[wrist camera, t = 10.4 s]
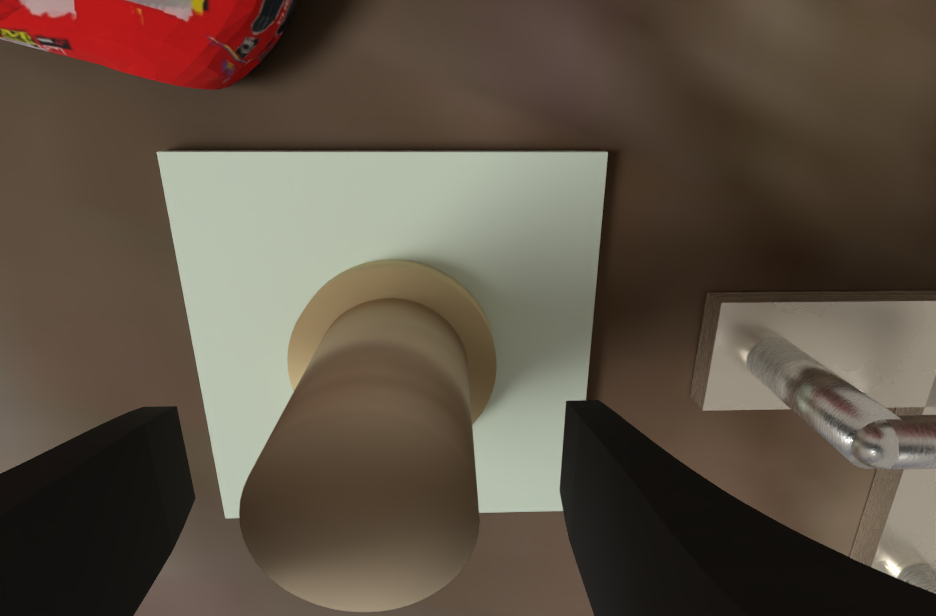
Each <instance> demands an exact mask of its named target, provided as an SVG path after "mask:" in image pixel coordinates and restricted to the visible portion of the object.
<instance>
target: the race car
mask: <svg viewBox="0 0 936 616" xmlns="http://www.w3.org/2000/svg"><path fill="white" fill-rule="evenodd" d="M296 2H297V0H0V39H2V40H6V41H10V42H14V43H17V44H21V45H25V46H29V47H32V48H36V49H40V50H44V51H48V52H52V53H56V54H60V55H64V56H68V57H72V58H76V59H80V60H84V61H88V62H92V63H95V64H99V65H103V66H106V67H108V68H111V69H114V70H117V71H121V72H124V73H128V74H132V75H135V76H139V77H143V78H147V79H151V80H155V81H159V82H163V83H168V84H172V85H177V86H182V87H189V88H198V89H211V90H216V89H222V88H225V87H228V86H231V85H232V84H234V83H235V82H237V81H238V80H240V79H241V78H243V77H244V76H246V75H247V74H248V73H249V72H250V71H251V70H252V69H253V68H255V67H256V66H257V65H258V64H259V63H260V62H261V61H262V60H263V59H264V58H265V56H266V55H267V54H268V53H269V52H270V51H271V50H272V49H273V48H274V46H275V45H276V43H277V41H278V40H279V38H280V36H281V35H282V33H283V31H284V30H285V28H286V26H287V25H288V23H289V21H290V18H291V16H292V13H293V10H294V7H295V5H296Z"/></svg>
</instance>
